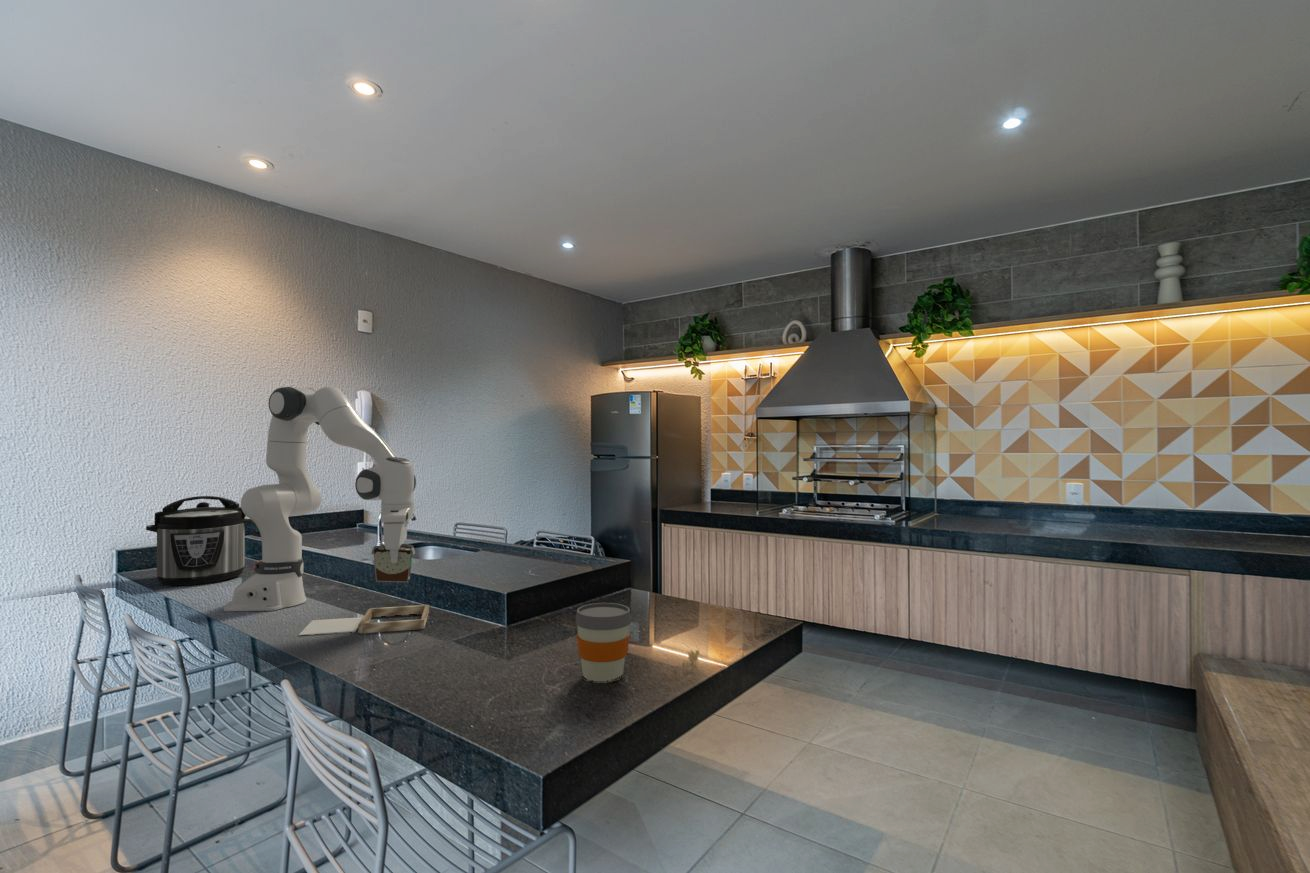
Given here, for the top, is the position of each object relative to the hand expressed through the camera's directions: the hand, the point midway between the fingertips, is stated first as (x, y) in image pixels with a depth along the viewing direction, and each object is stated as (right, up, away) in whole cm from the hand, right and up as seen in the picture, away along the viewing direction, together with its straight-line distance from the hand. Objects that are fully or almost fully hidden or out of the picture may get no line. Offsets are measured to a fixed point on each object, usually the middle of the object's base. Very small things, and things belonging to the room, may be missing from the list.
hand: (396, 560), depth 177 cm
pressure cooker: (-97, -19, +54) cm, 113 cm away
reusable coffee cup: (+64, -18, -40) cm, 78 cm away
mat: (-16, -18, -5) cm, 24 cm away
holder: (0, -18, 0) cm, 18 cm away
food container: (0, -6, +1) cm, 6 cm away
